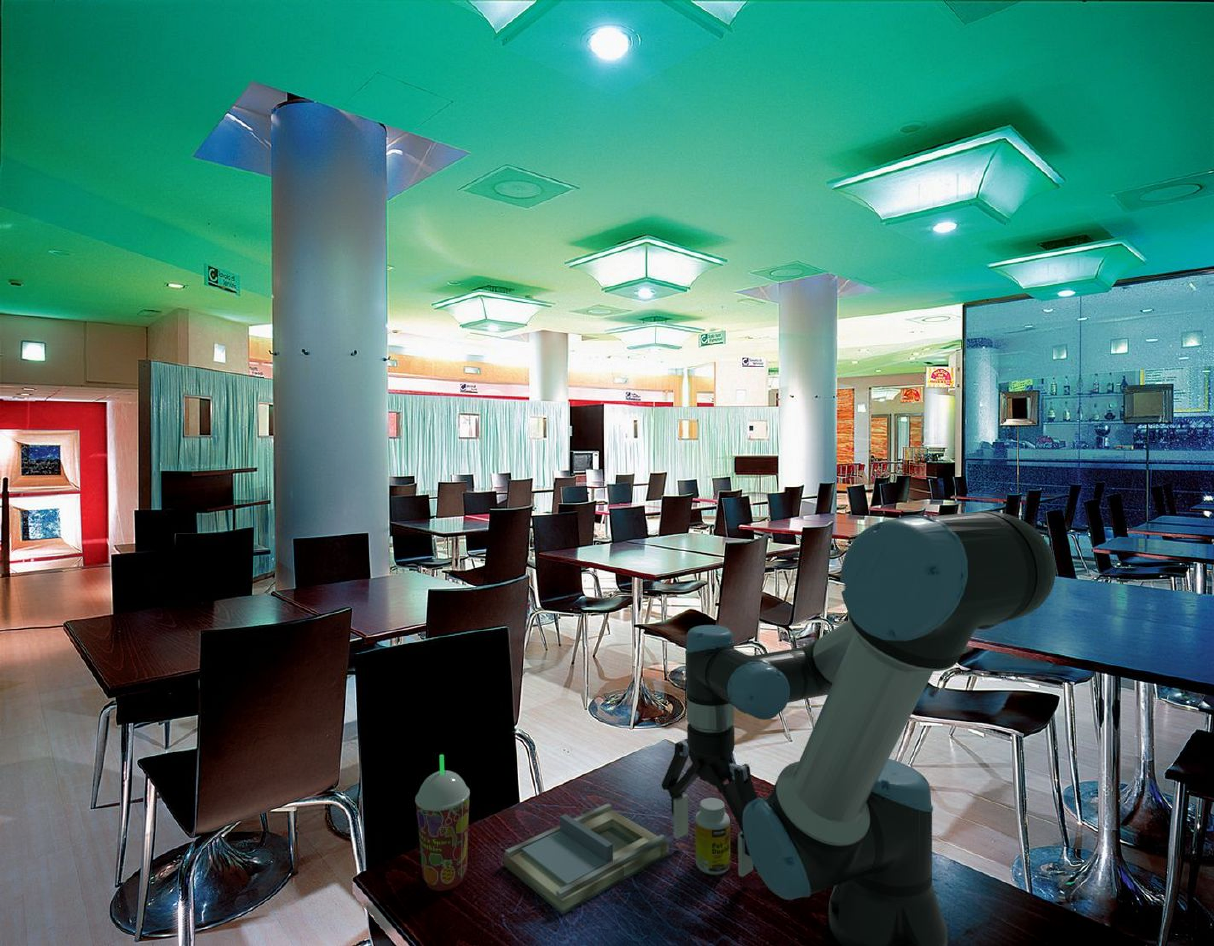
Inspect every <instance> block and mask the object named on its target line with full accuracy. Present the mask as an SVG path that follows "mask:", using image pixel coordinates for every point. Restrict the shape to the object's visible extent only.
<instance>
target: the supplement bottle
mask: <svg viewBox="0 0 1214 946" xmlns="http://www.w3.org/2000/svg"><path fill="white" fill-rule="evenodd" d="M725 808H726V806H725V803H724V801H723V800H721V799H719V798H716V797H707V798H704V799H702V800H701V801H700V802H699V811H697V813H696V814H695V818H694V822H695V823H694V826H695V829H694V830H695V831H694V832H695V836H694V837H695V840H694V842H695V864H696V866H697V868H698V869H699V870H700V871H701V872H703V873H705V874H708V875H715V876H717V875H721V874H724V873H727V871H728V870H729V869H730V867H731V820H730V816H729V814H728V813H727V812H726V809H725Z"/></svg>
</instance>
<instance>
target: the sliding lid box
mask: <svg viewBox="0 0 1214 946" xmlns="http://www.w3.org/2000/svg"><path fill="white" fill-rule="evenodd" d="M612 807H613V805H612V804H611V803H609V802H608V803H606V804H603V805H601V806H599V807H597V808H593V809H592V810H589V811H588V812H586V813H584V814H582V815H579V816H577V817H574V818H573V819H574V820H576V821H578V822H579V823H581V824H582V825H584V826H585V827H587V828H589V829H590V830H592V831H593V832H595V833H596V834H598V835H599V836H601V837H603V838H604V839H606V840H607V841H609V842H610V843H612V844H613V861H611V862H609V863H607V864H606V865H604V866H602V867H600V868H598V869H596V870H594V871H592V872H591V873H589V874H587V875H585V876H583V877H581V878H579V879H577V880H575V881H574V882H572V883H570V884H568V885H566V886H565V885H564V884H562V883H561V882H560V881H559V880H557V879H556V878H555V877H553V876H552V875H551V874H550V873H548V872H547V871H546V870H544V869H543V868H542V867H540V866H539V865H538V864H537V863H535V862H534V861H533V860H531V859H530V858H529V857H527V856H526V855H525V854H524V853H522V848H524V847H526V846H528V845H531V844H533V843H535V842H537V841H539V840H541V839H543V838H546V837H548V836H550V835H552V834H554V833H556V832H559V831H560V824H559V825H557V826H555V827H553V828H551V829H548V830H546V831H544V832H542V833H539V834H538V835H536V836H534V837H531V838H529V839H527V840H525V841H523V842H520V843H518V844H515V845H513V846H511V847H509V848H507V849H505V852H504V853H503V866H504V867H505V868H507V870H509V871H510V872H511V873H513V875H514V876H516V877H517V878H518V879H520V880H521V881H522V882H523V883H525V885H527V887H529V888H530V889H532V890H533V891H534V892H536V894H537V895H539V896H540V897H541V898H543V899H544V900H545V901H546V902H547V903H548V904H549V905H551V906H552V907H553V908H554V909H556V910H557V911H558V912H559V913H560V914H562V915H565V914H566V913H568V912H570V911H571V910H574V909H575V908H577V907H579V906H581V905H582V904H584V903H586V902H588V901H590V900H591V899H593V898H594V897H596V896H598V895H600V894H602V893H604V892H606V891H607V890H609V889H610V888H612V887H614V886H616V885H618V884H619V883H621V882H623V881H625V880H627V879H628V878H630V877H631V876H633V875H636V874H637V873H639V872H641V871H643V870H644V869H646V868H648V867H650V866H652V865H653V864H655V863H657V862H658V861H660V860H662V859H664V858H665V857H667V856H669V855H670V847H669V846H670V843H669V842H668V841H667V836H666V835H664V834H660V835H656V834H654V832H651V831H649V830H648V829H646V828H644V827H643V826H641V825H639V824H638V823H636V822H634V821H632V820H631V819H629V818H627V817H625V816H623V815H622V814H620V813H619V812H618V811H615V810H613V809H612Z"/></svg>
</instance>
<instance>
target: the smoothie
mask: <svg viewBox="0 0 1214 946" xmlns="http://www.w3.org/2000/svg"><path fill="white" fill-rule="evenodd" d="M470 790H471V789H470V788H469V787H468V786H467V785H466V782H465V781H464V779H463V778H462V777H461V776H460V774H458V773H457V772H454V771H452V770H445V755H444V754H439V770H438V771H436V772H434V773H432V774H430V775H429V776H427V777H426V779H424V781H423V783H422V784H421V785H420V787H419V791H418V792H417V794H416V795H415V798H414V802H415V804H416V807H415V809H416V818H417V829H418V830H417V831H418V840H419V849H420V861H421V871H422V879H423V880H424V882H425V883H426V885H427V888H429V889H431V890H433V891H437V892H445V891H450V890H451V889H454V888H456V887H458V886H459V885H460V884H461V883H462V882H463V880H464V876H465V875H466V873H467V870H468V850H469V849H468V846H469V845H468V844H469V841H468V840H469V820H470V819H469V817H470V813H469V812H470V795H471V791H470Z"/></svg>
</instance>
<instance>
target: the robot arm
mask: <svg viewBox="0 0 1214 946" xmlns="http://www.w3.org/2000/svg"><path fill="white" fill-rule="evenodd" d="M1056 575H1057V573H1056V562H1055V559H1054V554H1053V551H1052V550H1051V547H1050V546H1049V544H1048V541H1046V539H1045V538H1044V537H1043V536H1042V534H1041V533H1040V532H1039V531H1038V530H1036V528H1034V526H1032V525H1031V524H1029V523H1028V522H1026V521H1024V520H1022V519H1021V518H1019V517H1016V516H1014V515H1011V514H1007V513H1004V512H1000V511H999V512H998V511H974V512H966V513H956V514H955V513H954V514H944V515H933V516H928V515H920V514H918V515H917V514H911V515H910V514H909V515H904V516H899V517H896V518H894V519H893V518H892V519H889V520H883V521H879V522H877V523H874V524H871V526H868V527H867V528H866V529H864V530H863V531H861V532H860V533H859V534H858V535H857V536H856V537H855V538H854V540H853V541H852V542H851V544H850V545H849V546H848V549H847V550H846V553H845V555H844V557H843V560H842V564H841V570H840V579H839V580H840V582H841V583H842V584H844V590H842V591H841V597H842V601H843V603H844V606H845V608H846V611H847V619H848V620H847V621H846V622H844V623H842V624H841V625H839V626H837V627H835V628H834V629H831V631H829V632H826V634H824V635H822V636H820V637H819V638H818V639H816V640H814V641H812V642H811V643H809V644H807V645H804V646H801V647H796V648H791V649H782V650H778V651H771V652H766V653H759V654H754V655H748V654H747V653H744V652H742V651H739V650H738V649H735V646H736V644H735V640H734V634H733V632H732V630H731V629H730V628H728V627H726V626H723V625H722V626H721V625H717V624H716V625H714V624H704V625H697V626H694V627H692V628H690V629H689V630H688V632H687V633H686V649H685V652H684V653H685V670H686V671H685V672H686V677H685V679H686V721H687V723H688V724H687V727H686V734H687V735H686V738H685V739H682V740H680V741H678V742H675V744H674V755H673V757H672V758H671V761H670V764H669V766H668V769H667V771H666V773H665V775H664V778H663V780H662V783H661V788H662V790H664V791H667V792H668V795H669V796H670V800H671V802H670V803H671V804H670V805H671V806H670V807H671V808H670V810H671V815H673V837H674V838H675V839H676V840H678V839H680V838H682V837H684V836H686V835H688V834H689V795H687V794H685V793H686V792H687V789H688V788H689V787H690V786H691V785H692V784H693V783H694V782H695V781H696V780H697V778H698V777H699V779H700V780H701V781H702V782H703V781H704V782H707V783H709V784H710V785H712V786H713V787H716V789H717V791H718V792H719V793H720V794H722V796H723V798H724V800H725V802H726V803H727V805H728V807H729V809H730V811H731V813H732V815H733V816H734V818H735V820H736V821H735V822H737V825H738V826H739V829H740V832H738V833H737V860H738V861H737V862H738V863H737V864H738V865H737V867H738V869H737V870H738V873H737V874H738V876H739V877H741V878H743V877H745V876H746V875H748V874H749V873H751V872H752V871H754V868H755V870H756V871H757V873H758V875H759V877H760V878H761V880H762V881H763V882H764V884H765V885H766V887H768V889H769V890H770V891H771V892H772V893H774V894H775V895H777V896H778V897H779V898H781V899H784V900H788V901H789V900H791V901H792V900H794V899H795V900H796V899H799V898H809V897H811V895H813V894H815V893H819V892H821V891H824V890H827V889H829V888H832V887H833V890H832V892H831V895H830V899H829V902H828V924H829V928H830V930H831V934H832V935H833V937H834V938H835V940H837V942H839V944H840V945H841V946H948V928H947V925H946V921H945V918H944V915H943V913H942V910H941V909H942V908H941V906H940V904H939V903H940V902H939V901H938V899H937V898H938V897H937V895H936V892H935V890H934V886H933V812H934V806H933V804H932V796H931V794H932V793H931V787H930V783H929V781H928V780H927V779H926V777H925V776H924V775H923V774H922V773H921V772H920V771H918V770H916V769H915V768H914V767H911V766H910V765H908V764H905V763H903V762H900V761H897V760H895V759H891V758H890V757H891V755H892V753H893V751H894V749H895V747H896V745H897V743H898V741H899V739H900V737H901V736H902V733H903V731H904V729H905V728H906V726H907V724H908V722H909V720H910V718H911V716H912V714H913V711H914V710H915V708H916V706H917V704H918V702H919V700H920V699H921V697H922V695H923V693H924V690H925V689H926V687H927V686H928V683H929V681H930V679H931V677H932V676H933V673H934V672H942V671H947V670H950V669H951V668H953V667H955V665H956V664H957V663H958V662H959V661H960V659H961V656H962V655H963V653H964V651H965V649H966V647H967V645H968V644H969V641H970V640H971V638H972V636H973V635H974V632H975V631H984V630H985V631H986V630H988V629H991V628H993V627H995V626H998V625H999V624H1002V623H1005V622H1008V621H1013V620H1016V619H1019V618H1022V617H1025V616H1027V615H1029V614H1031V613H1033V612H1034V611H1035V610H1037V609H1038V608H1040V607H1041V606H1042V605H1043V604H1044V603H1045V601H1046V600H1048V598H1049V596H1050V595H1051V592H1052V590H1053V587H1054V584H1055V580H1056ZM823 696H824V697H825V696H826V699H825V701H824V702H823V705H822V708H821V710H820V711H819V714H818V716H817V719H816V721H815V724H814V726H813V729H812V730H811V733H810V735H809V737H808V740H807V742H806V744H805V747H804V749H803V751H802V754H801V756H800V758H799V760H798V761H795V762H792V763H789V764H788V765H786V766H785V767H784V768H783V769H782V770H781V772H780V774H779V775H778V776H777V780H776V781H775V783H774V786H773V788H772V792H770V794H769V795H768V796H765V797H760V796H759V797H758V795H757V792H756V790H755V786H754V785H753V782H752V776H751V775H752V774H751V767H750V765H749V764H747V763H744V764H743V765H741V764H736V763H735V762H734V759H733V753H734V750H735V747H736V746H735V745H736V744H735V742H736V741H735V726H734V723H735V709H736V710H738V711H739V712H741V713H743V714H747V715H748V716H751V717H753V718H755V719H757V720H761V721H762V720H764V721H767V720H772V719H774V718H775V717H777V716H778V714H780V713H781V712H783V711H784V710H785V708H786V707H787V705H788V704H789V703H794V702H799V701H801V700H803V701H804V700H808V699H813V698H817V697H823ZM688 758H689V759H690V761H691V763H692V764H691V765H690V766H689V767H688V769H686V771H685V773H684V775H682V776H681V774H682V773H683V772H682V771H684V767H685V765H686V763H687V761H688ZM726 781H728V783H726V784H724V783H725V782H726ZM683 793H684V794H683Z"/></svg>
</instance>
